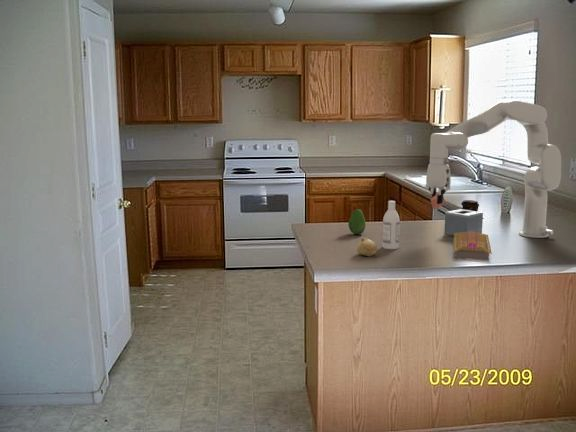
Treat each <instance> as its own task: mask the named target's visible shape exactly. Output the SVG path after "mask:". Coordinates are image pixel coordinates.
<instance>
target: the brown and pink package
mask: <svg viewBox="0 0 576 432" xmlns="http://www.w3.org/2000/svg"><path fill="white" fill-rule="evenodd" d="M463 233H464V234H463ZM465 233H466V234H467V235H466V234H465ZM476 234H477V235H476ZM452 246H453V247H452V249H453V250H452V251H453V252H454V254H455V256H454V257H455V259H463V260H464V259H465V260H477V261H478V260H482V261H490V254H492V253H493V252H492V249H491V244H490V238H489V235H488V234H485V233H483V232H482V233H477V232H472V231H470V232H460V234H459V233H457V234H456V233H454V237H453V245H452Z"/></svg>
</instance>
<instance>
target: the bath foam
mask: <svg viewBox="0 0 576 432" xmlns="http://www.w3.org/2000/svg"><path fill="white" fill-rule="evenodd" d="M387 203H388V205H387V208H388V209H387V210H386V212H385V213H384V215H383V218H382V238H381V239H382V240H381V241H382V243H381V245H382V248H383V249H385V250H397V249H399V247H400V228H401V227H400V224H401V221H400V220H401V219H400V216H399V214H398V211H397V210H396V201H395V200H388V202H387Z"/></svg>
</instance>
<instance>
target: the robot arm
mask: <svg viewBox="0 0 576 432" xmlns="http://www.w3.org/2000/svg"><path fill="white" fill-rule="evenodd" d="M547 118H548V113H547V110H546V108H545V107H543V106H541V105H538V104H535V103H530V102H526V101H521V100H518V99H517V100H516V99H503V100H499V101H498V102H497V103H495V104H493V105H492V106H490V107H488V108H487V109H485V110H484V111H483V112H481V113H479V114H477V115H476V116H474V117H471V118H468V119H467V120H464V121H463V122H461V123H458V124H457V125H455V126H453V127H451V128H450V129H449V130H447V131H446V132H434V133H431V135H430V149H429V164H428V166H427V171H426V176H425V177H426V179H425V180H426V182H425V183H426V184H425V186H424V187H425V188H426V189H427V190H428V191H429V193H430V194H431V198H432V197H433V196H435V195H436V193H437V192H438V194H439V195H437V204H442V202H443V196H444V195H445V193H446V192H448V191H451V182H452V180H451V179H452V178H451V168H450V165H449V163H450V159H449V158H448V155H449V150H453V151H462V150H464V149H466V148H467V146H468V144H469V138H471V137H474V136H478V135H483V134H487V133H489V132H490V131H491V130H492V129H495V128H496V127H498V126H500V125H501V124H502V123H504V122H505V121H507V120H508V121H509V120H510V121H516V122H517V123H518V124H521V126H523V128H524V129H525V131H526V134H527V135H526V136H527V159H528V161H529V162H530V163H532V164H535V165H540V166H532V167H530V168H529V169H527V171H526V172H525V174H524V177H523V180H524V189H525V192H524V193H525V194H524V206H523V207H524V208H523V222H522V223H523V225H522V226H523V227H522V230H520V231H519V232H518V235H519V236H521V237H525V238H534V239H544V238H548V237H549V235H550V236H551V235H554V230H553V229H548V227H549V226H546V223H547V209H548V199H549V198H548V191H554V190H555V189H557V188H558V187H559V185H560V183H561V179H562V154H561V151H560V148H558V146H556V145H555V144H551V143H549V135H548V127H547V125H546V123H545V122H546V120H547ZM437 189H438V191H437Z"/></svg>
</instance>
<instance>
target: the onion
mask: <svg viewBox="0 0 576 432" xmlns="http://www.w3.org/2000/svg"><path fill="white" fill-rule="evenodd" d="M377 250H378V246H377V245H376V242H374V241H373V240H371V239H368V238H367V237H365V238H364V237H361V238H360V242H359V243H357V246H356V251H357V252H358V254H359V255H361V256H365V257H372V256H374V255H375V254H376V253H377V252H378V251H377Z"/></svg>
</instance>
